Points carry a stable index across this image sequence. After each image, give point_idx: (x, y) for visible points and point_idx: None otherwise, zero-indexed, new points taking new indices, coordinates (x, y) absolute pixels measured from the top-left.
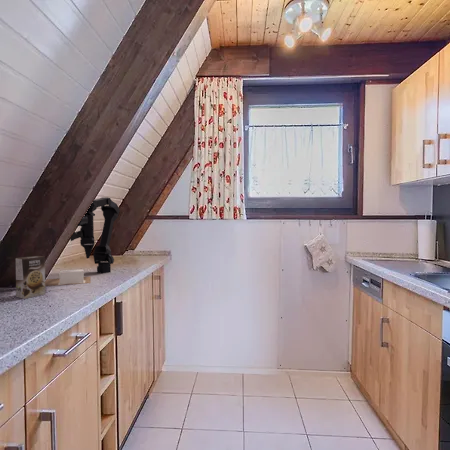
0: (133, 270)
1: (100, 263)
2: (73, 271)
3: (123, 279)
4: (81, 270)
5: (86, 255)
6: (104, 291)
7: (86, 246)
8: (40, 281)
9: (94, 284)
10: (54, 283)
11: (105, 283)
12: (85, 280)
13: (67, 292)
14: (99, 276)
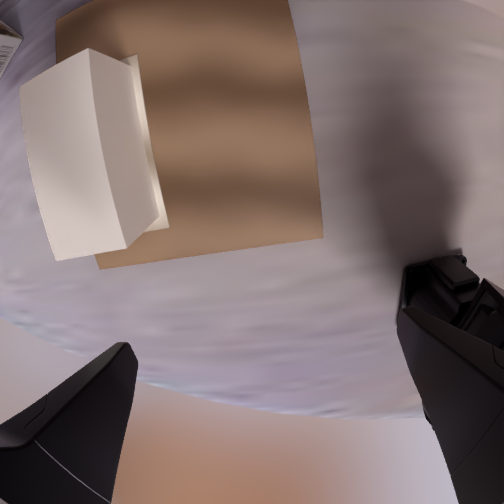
0: None
1: (460, 319)
2: (42, 184)
3: (265, 391)
4: (78, 241)
5: (91, 367)
6: (36, 323)
7: (23, 476)
8: None
9: (150, 276)
10: (108, 43)
11: (173, 327)
12: (164, 227)
13: (5, 178)
14: (399, 272)
